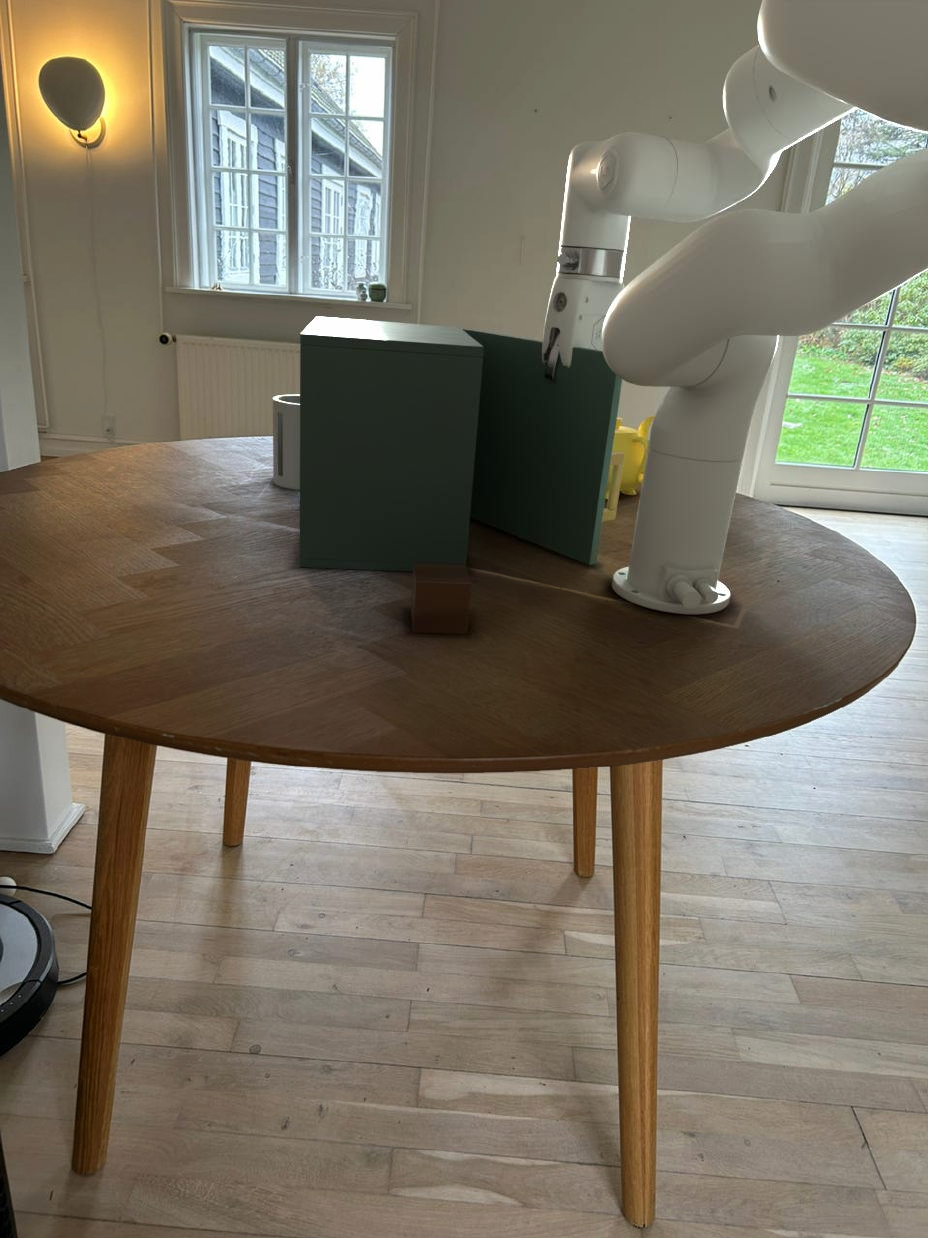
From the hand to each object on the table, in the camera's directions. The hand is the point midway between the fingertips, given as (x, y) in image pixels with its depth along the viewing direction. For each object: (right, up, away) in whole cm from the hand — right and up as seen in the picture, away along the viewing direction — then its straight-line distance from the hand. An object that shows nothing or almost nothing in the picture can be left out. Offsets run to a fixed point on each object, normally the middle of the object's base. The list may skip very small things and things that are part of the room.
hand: (570, 429), depth 104 cm
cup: (-36, -3, +22) cm, 43 cm away
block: (-15, -23, -23) cm, 36 cm away
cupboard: (-23, -13, +1) cm, 26 cm away
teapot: (+10, -3, +31) cm, 33 cm away
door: (-4, -12, +7) cm, 14 cm away
